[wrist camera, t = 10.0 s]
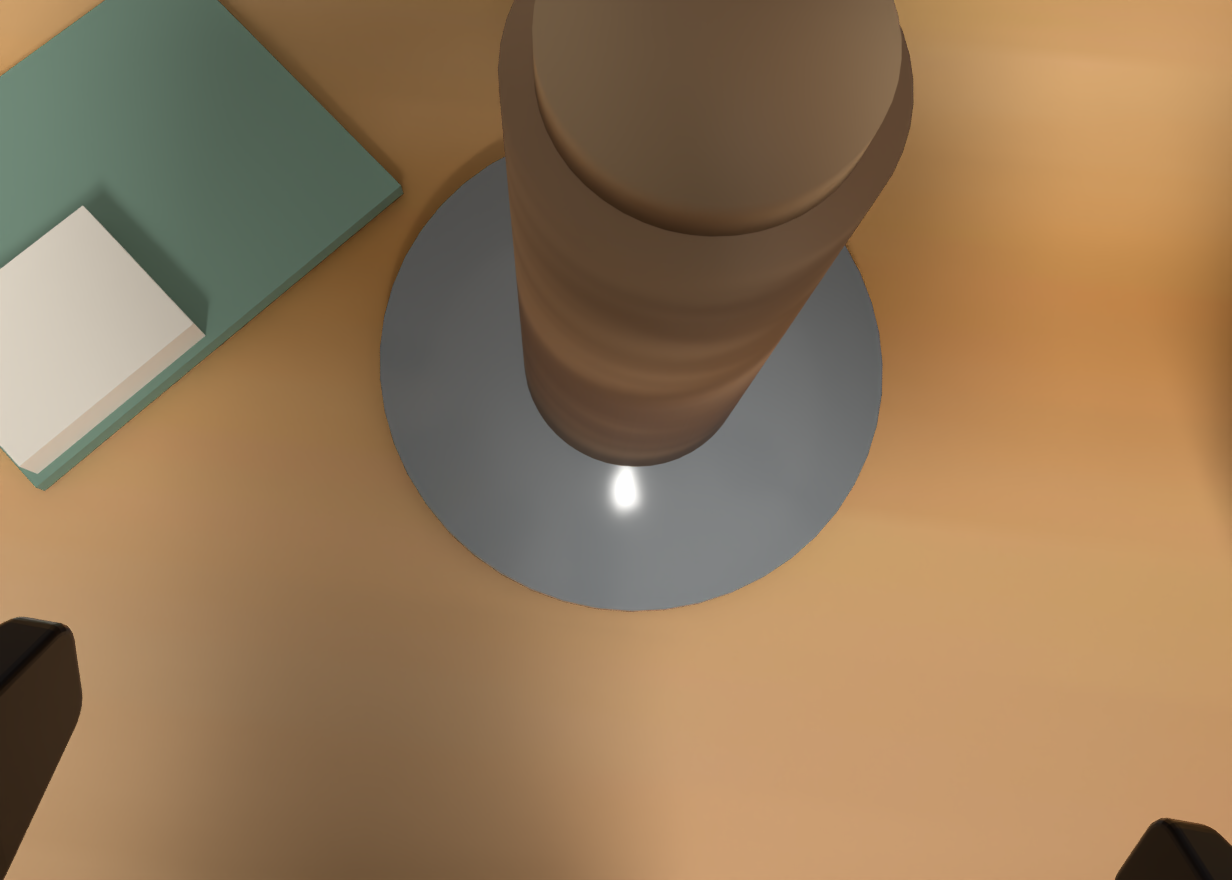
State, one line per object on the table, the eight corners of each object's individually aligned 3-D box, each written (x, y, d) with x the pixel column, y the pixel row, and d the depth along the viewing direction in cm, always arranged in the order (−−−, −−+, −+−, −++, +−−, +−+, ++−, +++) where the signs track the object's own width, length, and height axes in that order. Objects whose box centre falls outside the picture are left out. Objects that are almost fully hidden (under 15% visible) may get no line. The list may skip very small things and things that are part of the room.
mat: (44, 490, 22) (16, 480, 21) (-188, 229, 23) (-227, 206, 22) (403, 193, 24) (396, 168, 23) (176, -37, 25) (158, -72, 24)
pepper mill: (574, 500, 22) (598, 308, 11) (491, 300, 23) (428, -83, 11) (778, 417, 23) (1013, 150, 11) (690, 226, 24) (823, -208, 12)
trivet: (629, 723, 22) (631, 723, 21) (279, 352, 23) (272, 344, 23) (972, 373, 24) (982, 365, 24) (635, 52, 25) (637, 37, 25)
